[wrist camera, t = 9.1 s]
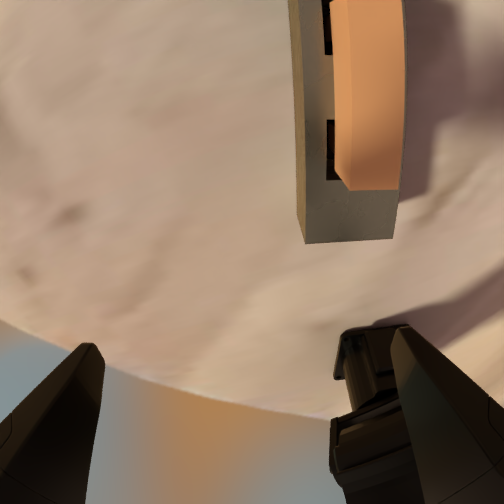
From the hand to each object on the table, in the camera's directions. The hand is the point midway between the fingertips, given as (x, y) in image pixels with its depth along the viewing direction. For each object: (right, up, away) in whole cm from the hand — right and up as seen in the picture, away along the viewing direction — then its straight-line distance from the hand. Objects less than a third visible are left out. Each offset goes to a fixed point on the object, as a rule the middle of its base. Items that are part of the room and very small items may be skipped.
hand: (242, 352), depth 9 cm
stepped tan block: (+5, +12, +6) cm, 14 cm away
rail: (+5, +12, +7) cm, 14 cm away
